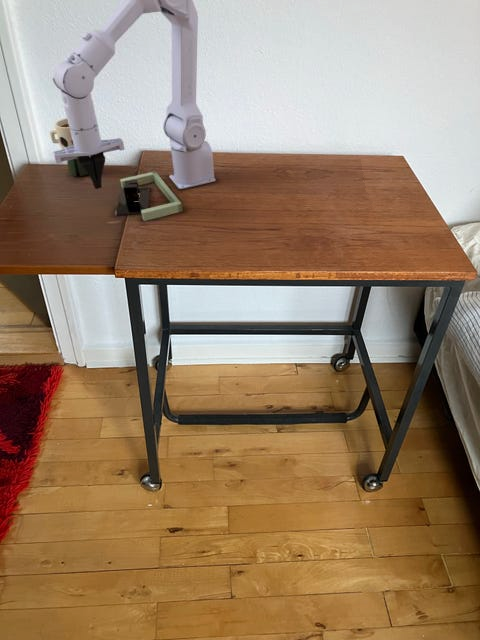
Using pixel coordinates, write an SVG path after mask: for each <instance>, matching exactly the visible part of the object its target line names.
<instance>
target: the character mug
mask: <svg viewBox="0 0 480 640" xmlns="http://www.w3.org/2000/svg"><path fill="white" fill-rule="evenodd" d="M54 124H55V125H54V127H55V129H51V130H49V134H50V135H49V136H50V138H51V142H52V143H53V144H59V147H60V148H61V150H62V149H65V148H68V147H70V146H73V145H74V144H73V140H72V136H71V132H70V128H69V124H68V120H67V117H65V118H62V119H59V120H57V121H56V122H54ZM55 135H56V136H57V138H56V136H55ZM66 163H67V170H68V174H69V175H71V176H75V177H77V174H79V176H86V175H89V174H88V173H87V171H86V170H85V169H84V167H83V166H82V165H81V163H80V162H79V160H78V158H77V159H72V160H67V161H66Z"/></svg>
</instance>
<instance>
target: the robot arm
mask: <svg viewBox="0 0 480 640" xmlns="http://www.w3.org/2000/svg"><path fill="white" fill-rule="evenodd" d="M159 12H160V13H161V14H162V15H163V16H164V17H165V18H166V19H167V20H168V22H169V23H170V24H171V102H170V103H169V104H168V105H167V107H166V114H165V118H164V121H163V122H162V123H163V124H162V129H163V133H164V134H165V136H166V137H167V138H168V139H169V143H170V152H171V159H172V161H171V162H172V168H173V174H170V175H169V179H170V180H171V181H172V182H173V184H174V185H175V186H176V187H177V188H178V189H179V190H185V189H189V188H193V187H197V186H201V185H206V184H209V183H214V182H216V177H215V167H214V166H215V165H214V155H213V150H212V147H211V145H210V143H209V141H207V140H206V136H207V132H206V127H205V125H204V116H203V114H202V112H201V110H200V108H199V106H198V104H197V82H198V81H197V80H198V79H197V75H198V33H199V31H198V28H199V27H198V26H199V24H198V23H199V16H198V10H197V8H196V6H195V3H194V0H121V1H120V3H119V4H118V5H117V7H116V8H115V10H113V12H112V14H111V15H110V16H109V18H108V19H107V21H106V22H105V23H104V25H103V26H102V27H101V28H100V29H91V30H90V31H89V32H87V31H85V32H84V33H83V35H81V38H82V39H83V40H81V42H80V43H79V45H78V46H76V48H75V49H74V51H72V53H71V52H69V53H68V54H67V55H66V59H67V60H64V61H60V62H59V63H57V65H56V67H55V68H54V73H53V78H52V81H53V84H54V85H55V87H56V88H57V89H58V90H60V94H61V98H62V102H63V108H64V112H65V116H66V118H67V120H68V124H69V128H70V132H71V136H72V140H73V144H74V145H73V146H70V147H68V148H65V149H62V148H61V149H59V150H56V151H53V152H52V154H53V157H54V161H55V163H56V165H59V164H62V163H63V162H67V160H72V159H77V158H78V160H79V162H80V163H81V165H82V166H83V167H84V169H85V170H86V171H87V173H88V174H87V175H88V176H89V178H90V180H91V182H92V186H93V187H94V189H95V190H98V189H102V186H103V185H102V177H103V171H104V167H105V164H106V156H105V153H110V152H113V151H114V152H115V151H118V150H119V151H124V150H125V144H124V141H123V139H122V138H121V137H118V138H111V139H109V138H108V139H102V137H101V133H100V129H99V124H98V120H97V115H96V110H95V106H94V101H93V97H92V92H93V89H94V85H95V79H96V77H97V76H98V75H99V74H100V73H101V71H102V70H103V69H104V68H105V66H106V65H107V64H108V63H109V62H110V60H111V59H112V58H113V57H114V56H115V54H116V43H117V42H118V41H119V40H120V39H121V38H122V37H123V36H124V34H125V33H126V32H127V31H128V30H130V28H131V27H132V26H133V25H134V24H135V23H136V22H137V20H138V19H140V18H141V17H142V15H144V14H151V13H159Z"/></svg>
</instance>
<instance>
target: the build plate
mask: <svg viewBox="0 0 480 640" xmlns="http://www.w3.org/2000/svg"><path fill="white" fill-rule="evenodd" d="M138 193H140V197H139V195H138ZM150 194H151V187H140V185H138V180H129V181H125V183H124V189H123V188H121V189H120V193H119V198H118V203H117V207H116V210H115V214H114V215H115V216H116V217H121V216H122V217H123V216H134V215H135V216H136V215H142V213H141V210H144V209H148V208H149V203H150ZM134 201H139V202H134Z"/></svg>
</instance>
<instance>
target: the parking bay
mask: <svg viewBox="0 0 480 640" xmlns="http://www.w3.org/2000/svg"><path fill="white" fill-rule="evenodd" d="M150 178H153V179H150ZM143 179H148V180H144V181H139V182H138V185H139V186H143V185H147V184H150V183H151V184H152V183H155V185H156V186H157V187H158V188H159V190H160V191H161V192H162V194H163V195H164V196H165V198H166V199H167V200H168V201H169V202H168V203H164V204H161V205H157V206H152V207H148V209H144V210H141V213H142V214H141V218H142V220H143V221H144V222H146V221H149V220H150V221H151V220H154V219H158V218H161V217H166V216H170V215H173V214H179V213H182V212H183V204H182V202H181V201H180V200H179V198H178V197H177V196H176V194H175V193H174V192H173V191H172V190H171V189H170V188H169V186H168V185H167V184H166V182H165V181H164V179H162V177H160V174H158V173H157V172H156V171H151V172H147V173H142V174H137V175H133V176H128V177H124V178H119V182H120V186H121V189H124V183H125V181H129V180H143Z"/></svg>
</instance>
